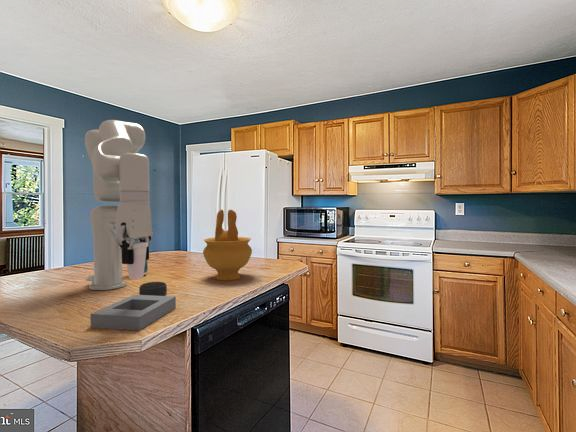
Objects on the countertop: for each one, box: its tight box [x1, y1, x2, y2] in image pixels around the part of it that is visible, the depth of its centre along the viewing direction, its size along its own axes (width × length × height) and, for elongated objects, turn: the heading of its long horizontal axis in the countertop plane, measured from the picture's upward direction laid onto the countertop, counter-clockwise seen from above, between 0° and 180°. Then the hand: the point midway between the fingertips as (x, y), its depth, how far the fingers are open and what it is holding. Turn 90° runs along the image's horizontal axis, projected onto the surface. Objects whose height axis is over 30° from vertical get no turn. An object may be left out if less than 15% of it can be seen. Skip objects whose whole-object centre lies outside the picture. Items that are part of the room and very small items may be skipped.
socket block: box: [89, 294, 177, 331], centre depth 90 cm, size 14×18×4 cm
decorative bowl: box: [202, 209, 253, 281], centre depth 138 cm, size 21×21×30 cm
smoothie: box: [126, 239, 148, 280], centre depth 89 cm, size 6×6×14 cm
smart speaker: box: [138, 281, 168, 296], centre depth 112 cm, size 9×9×4 cm
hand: (136, 261), depth 89 cm, fingers closed on smoothie, 6 cm apart
